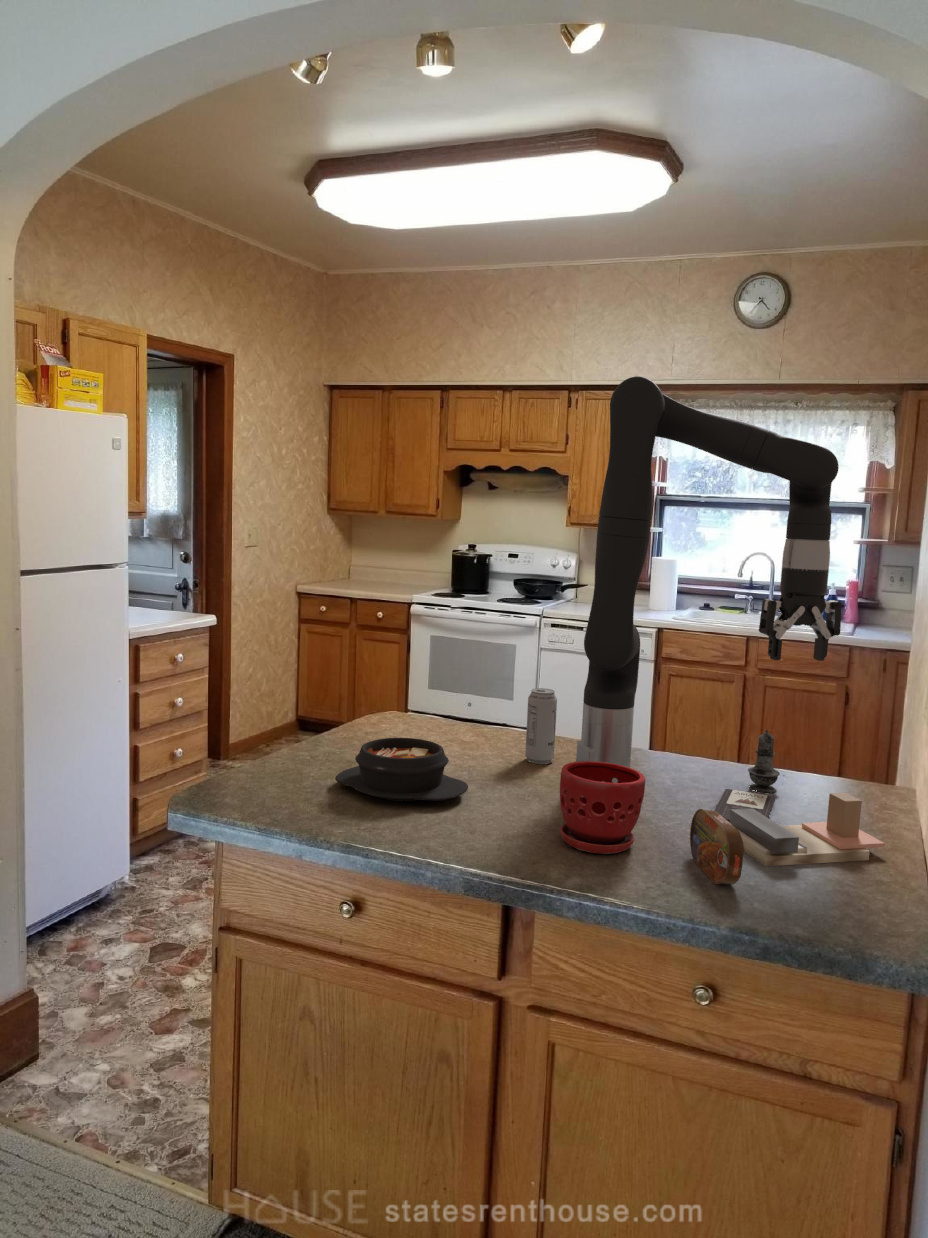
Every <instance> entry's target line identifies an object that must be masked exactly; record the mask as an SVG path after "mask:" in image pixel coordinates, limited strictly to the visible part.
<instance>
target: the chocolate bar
mask: <svg viewBox="0 0 928 1238" xmlns="http://www.w3.org/2000/svg"><path fill="white" fill-rule="evenodd" d="M775 799H776V796H774V795H769V794H764V793H757V792H750V791H742V790H737V789H730V788H725V789H724V791H723V792H722V795H721V797H720V798H719V801H718V803H717V804H716V807H715V809H714V810H713V811H716V812H718V813H719V814H721V815H722V816H723V817H724V818H725V819H726V820H727V821H729V822H730V811H731V809H754V810H756V811H757V812H759V813H760V814H762V815H764V816H765V817H767V818H769V819H770V816H769V815H771V813H770V812H771V811H772V810H773V805H774V803H775V801H776V800H775Z"/></svg>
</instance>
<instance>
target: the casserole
mask: <svg viewBox="0 0 928 1238" xmlns="http://www.w3.org/2000/svg"><path fill="white" fill-rule="evenodd" d="M354 759H355V762H356V763H357V764H358V765H357V766H353V767H349V768H346V769H345V770H342V771H341V772H339V773H338V774H337V775H335V781H336V782H337V783H339V784H342V785H344V786H348V787H350V788H353V789H354V790H356V791H358V792H360V793H363V794H365V795H368V796H372V797H375V798H377V799H381V800H388V801H393V802H395V801H396V802H411V801H419V800H421V801H434V802H435V801H436V802H437V801H439V802H440V801H446V800H452V799H454V798H456V797H459V796H461V795H464V794H466V792H468V789H469V785H468V783H467V782H465V781H463V780H461V779H458V778H454V777H451V776H448V775H446V774H444V771H445V767H446V766H447V765H449V761H450V760H449V758H448V757H447V755H446V754H445V751H444V748H443V746H442V745H440V744H439V743H436V742H433V741H430V740H426V739H420V738H414V737H412V738H411V737H387V738H379V739H374V740H370V741H367V742H365V743H363V745H361V747H360V750H359V752H358V754H357V755H356V756H355V758H354Z"/></svg>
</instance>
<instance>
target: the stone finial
mask: <svg viewBox="0 0 928 1238" xmlns="http://www.w3.org/2000/svg"><path fill="white" fill-rule="evenodd" d="M769 732H770V730H769V729H767V728H766V729H765V732H763V733H760V735H759V736H758V746H757V750H755V753H756V762H755V764H754V766H752V767H749V768H748V769H747V772H748V774H749V778H750V780H751V782H753V783H751V784H750V785H748V786H750V787H749V789H748V790H750V791H752V790H755V791H756V790H757V792H756V793H758V792H760V793H759V794H765V793H769V794H771V793H772V794H776V793H777V788H775V787H774V786H773V785H774V784H775V783H776V782H777V781H778V778H779V776H780V775H781V774H780V772H779V771H778V770H776V769H775V768H774V765H773V764H774V763H773V762H774V756H775V755H776V753H775V751H774V746H775V737H774V736H773V735H772V734H770V733H769ZM775 792H776V793H775ZM769 794H768V795H769ZM772 794H771V795H772Z"/></svg>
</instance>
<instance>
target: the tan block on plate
mask: <svg viewBox="0 0 928 1238" xmlns="http://www.w3.org/2000/svg"><path fill="white" fill-rule="evenodd" d="M862 804H863V800H861V799H860V798H857V797H856V796H854V795H852V794H849V793H847V792H829V797H828V806H827V807H828V808H827V820H826V821H821V822H820V821H817V822H814V821H813V822H802V823H801V825H802V827H803V828H805V829H807V830H808V831H810V832H812V833H813V834H815V835H817V836H818V837H820V838H822V839H823V840H825V841H827V842H828V843H830V844H832V845H833V846H835V847H837V848H838V849H854V848H865V849H867V848H868V849H869V848H870V849H871V848H885V846H886V845H885V844H886V843H885V842H884V841H882V840H879V839H878V838H876V837H874V836H872V835H871V834H868V833H867V832H865V831H863V830H861V829H860V824H861V813H862Z"/></svg>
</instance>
